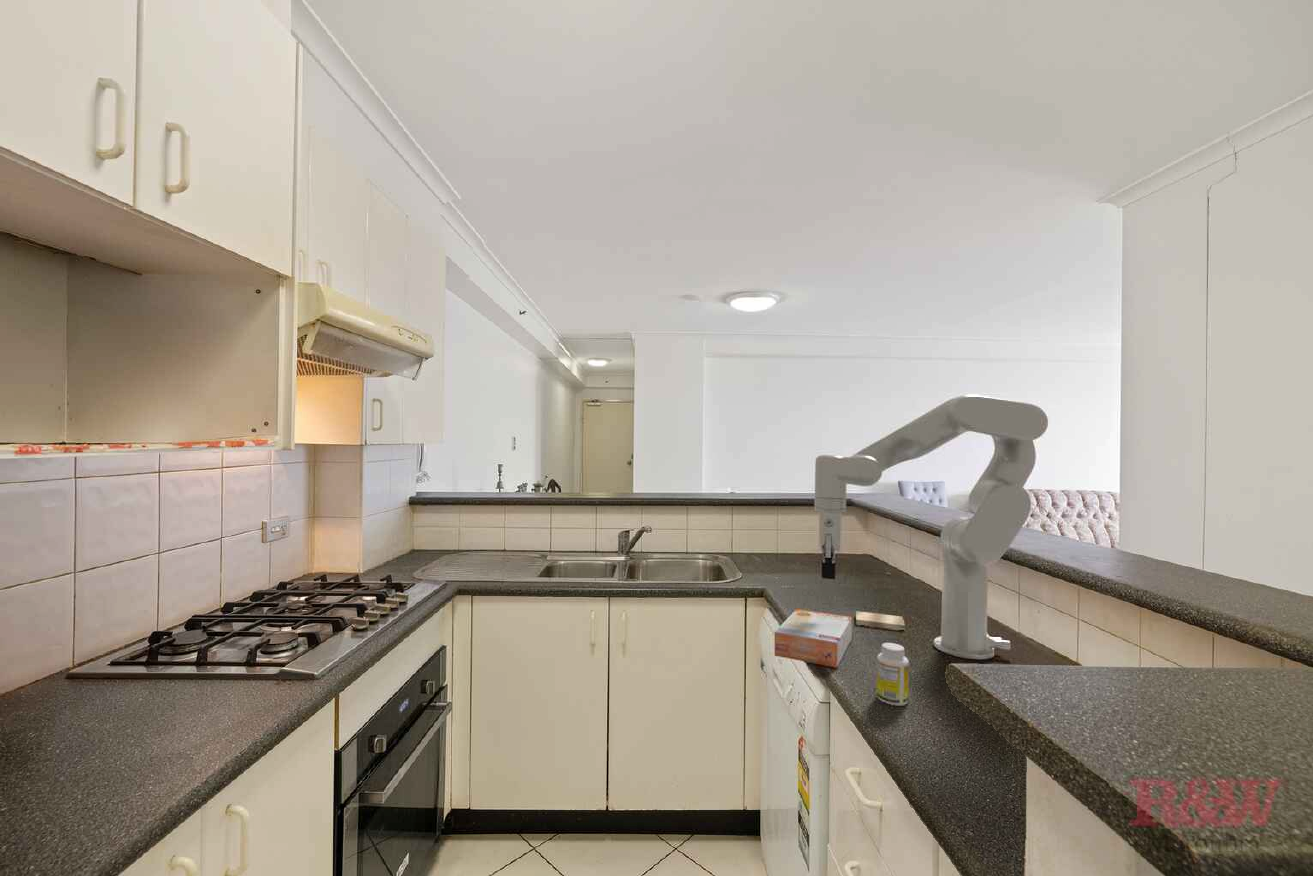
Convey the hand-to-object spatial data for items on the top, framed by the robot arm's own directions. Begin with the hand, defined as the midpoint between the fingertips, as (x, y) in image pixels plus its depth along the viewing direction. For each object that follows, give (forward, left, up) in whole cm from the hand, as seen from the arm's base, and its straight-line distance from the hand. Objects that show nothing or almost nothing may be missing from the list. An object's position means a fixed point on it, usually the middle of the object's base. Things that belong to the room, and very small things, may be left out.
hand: (828, 577), depth 138 cm
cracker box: (+1, -2, -12) cm, 13 cm away
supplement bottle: (-13, +30, -15) cm, 36 cm away
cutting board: (-13, -18, -15) cm, 27 cm away
